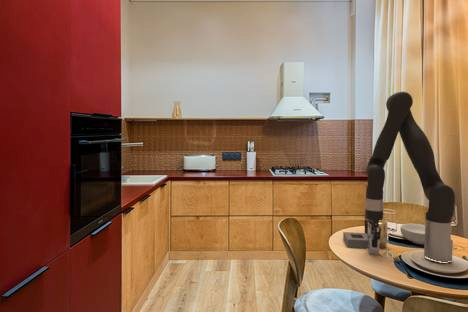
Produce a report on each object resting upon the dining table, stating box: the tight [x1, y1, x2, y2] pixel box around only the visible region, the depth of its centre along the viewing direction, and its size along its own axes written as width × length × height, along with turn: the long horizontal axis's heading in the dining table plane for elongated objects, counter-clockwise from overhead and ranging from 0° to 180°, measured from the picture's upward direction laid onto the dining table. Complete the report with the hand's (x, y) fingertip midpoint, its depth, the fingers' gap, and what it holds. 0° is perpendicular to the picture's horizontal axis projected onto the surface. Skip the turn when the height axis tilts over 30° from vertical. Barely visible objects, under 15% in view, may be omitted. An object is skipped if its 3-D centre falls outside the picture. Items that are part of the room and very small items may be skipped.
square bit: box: [366, 226, 380, 256], centre depth 136 cm, size 4×4×12 cm
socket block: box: [342, 231, 368, 249], centre depth 148 cm, size 11×11×4 cm
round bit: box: [379, 220, 388, 250], centre depth 144 cm, size 6×6×12 cm
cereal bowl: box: [400, 223, 425, 246], centre depth 150 cm, size 17×17×7 cm
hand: (373, 245), depth 136 cm, fingers closed on square bit, 4 cm apart
